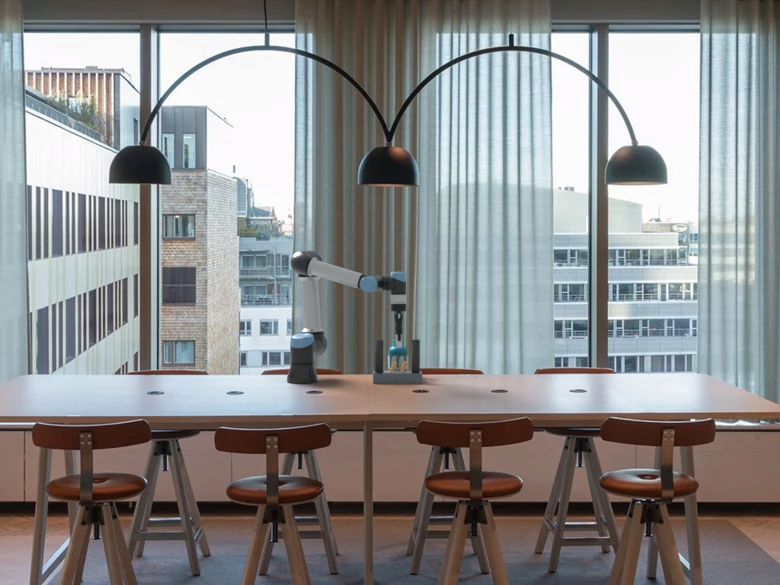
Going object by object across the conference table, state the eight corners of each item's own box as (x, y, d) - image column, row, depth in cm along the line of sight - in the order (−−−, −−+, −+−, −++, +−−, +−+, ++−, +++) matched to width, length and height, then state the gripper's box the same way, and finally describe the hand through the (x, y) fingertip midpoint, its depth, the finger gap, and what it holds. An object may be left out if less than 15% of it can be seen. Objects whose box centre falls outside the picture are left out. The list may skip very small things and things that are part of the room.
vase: (384, 376, 490) (384, 339, 489) (402, 374, 495) (402, 338, 494) (393, 378, 481) (393, 340, 480) (411, 377, 485) (412, 340, 484)
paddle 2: (400, 369, 466) (404, 361, 466) (400, 369, 469) (404, 361, 469) (403, 371, 466) (407, 363, 466) (403, 370, 469) (407, 362, 469)
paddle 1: (390, 370, 466) (394, 361, 466) (390, 369, 469) (394, 361, 469) (393, 371, 466) (397, 363, 466) (393, 370, 469) (397, 362, 469)
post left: (375, 372, 465) (375, 340, 464) (375, 371, 469) (375, 339, 468) (383, 372, 465) (383, 340, 464) (383, 371, 469) (383, 339, 468)
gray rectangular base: (373, 383, 462) (373, 372, 462) (372, 380, 472) (373, 370, 472) (422, 383, 463) (422, 372, 463) (421, 380, 473) (421, 370, 473)
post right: (411, 372, 466) (411, 340, 465) (411, 371, 470) (411, 339, 469) (419, 372, 466) (420, 340, 465) (419, 371, 470) (419, 339, 469)
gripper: (407, 304, 453) (407, 348, 454) (405, 301, 478) (405, 343, 479) (391, 304, 453) (391, 348, 454) (390, 301, 478) (390, 343, 479)
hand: (398, 346), depth 467 cm, fingers open, 13 cm apart
